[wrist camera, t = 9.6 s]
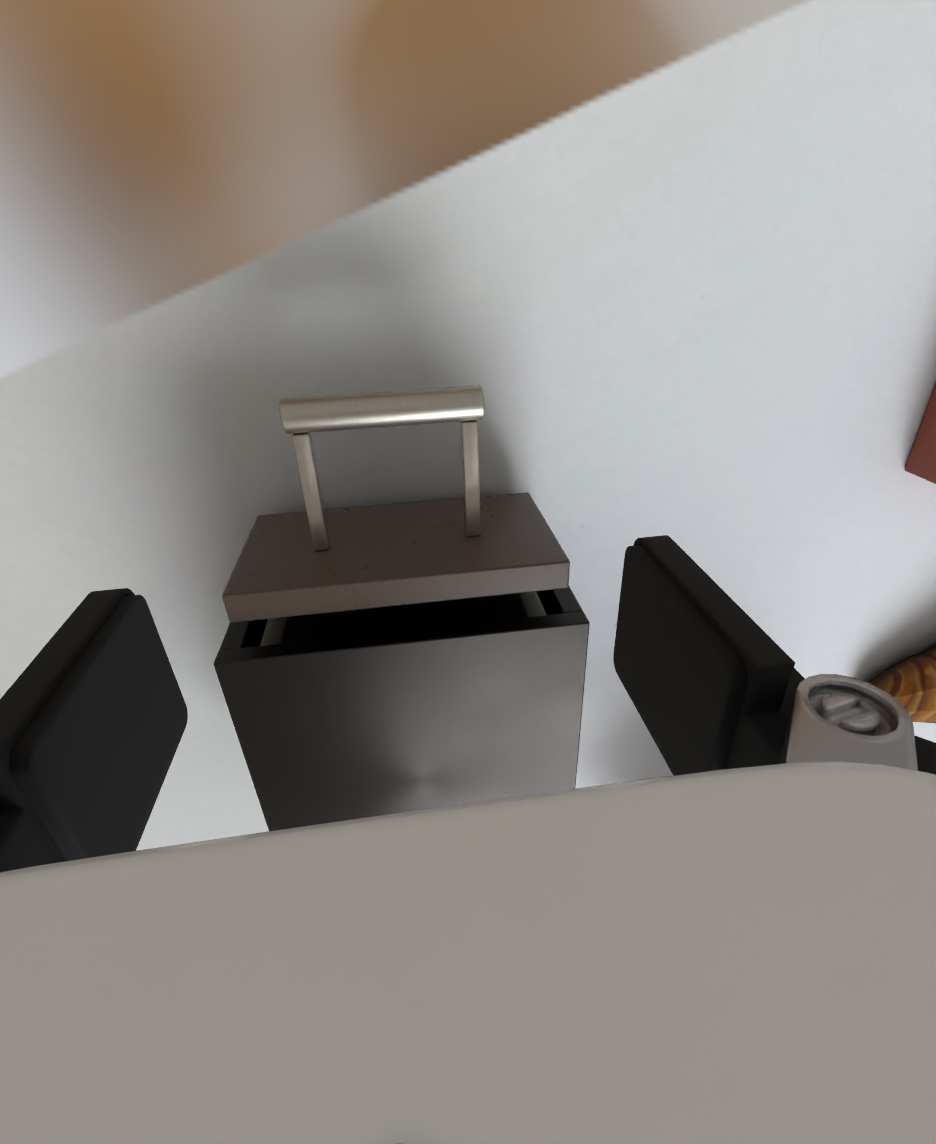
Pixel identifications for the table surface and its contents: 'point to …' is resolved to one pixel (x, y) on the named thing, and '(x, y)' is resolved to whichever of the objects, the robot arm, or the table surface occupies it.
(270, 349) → the table surface
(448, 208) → the table surface
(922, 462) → the control panel
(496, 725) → the dark wooden box
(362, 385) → the table surface
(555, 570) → the drawer front with handle
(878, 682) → the croissant
